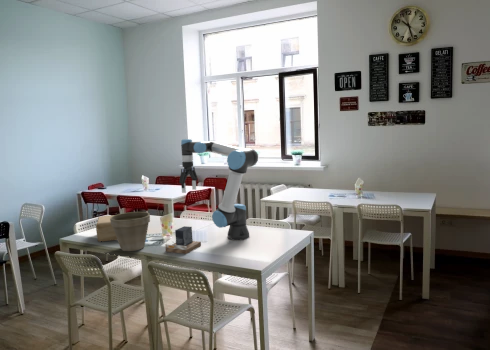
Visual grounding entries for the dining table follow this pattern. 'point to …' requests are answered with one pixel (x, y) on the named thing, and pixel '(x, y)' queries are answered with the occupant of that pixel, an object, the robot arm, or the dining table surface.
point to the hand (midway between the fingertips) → (189, 191)
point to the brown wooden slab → (182, 247)
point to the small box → (184, 236)
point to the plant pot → (131, 229)
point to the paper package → (105, 229)
